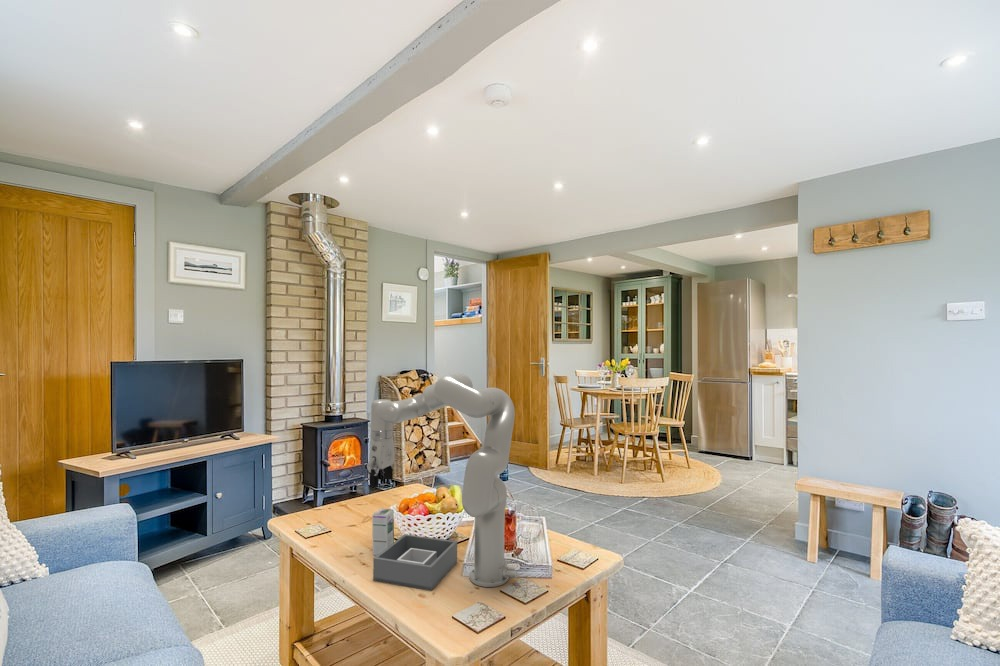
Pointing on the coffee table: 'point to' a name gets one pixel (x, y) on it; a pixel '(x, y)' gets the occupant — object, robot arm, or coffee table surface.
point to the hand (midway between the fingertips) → (381, 482)
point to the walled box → (415, 562)
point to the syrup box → (382, 530)
